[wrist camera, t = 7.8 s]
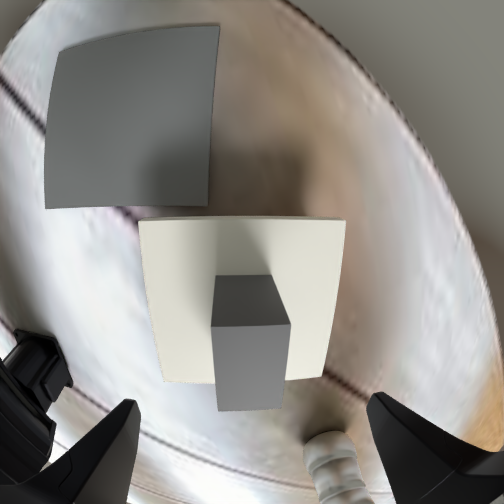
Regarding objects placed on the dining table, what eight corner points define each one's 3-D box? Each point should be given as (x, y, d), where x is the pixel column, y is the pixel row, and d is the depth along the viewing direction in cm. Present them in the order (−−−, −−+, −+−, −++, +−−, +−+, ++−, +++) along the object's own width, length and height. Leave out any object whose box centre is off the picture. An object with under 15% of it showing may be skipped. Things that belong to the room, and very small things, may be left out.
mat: (49, 207, 17) (45, 209, 16) (62, 54, 13) (59, 52, 12) (207, 205, 18) (207, 206, 17) (219, 29, 14) (219, 26, 14)
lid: (166, 372, 17) (151, 437, 12) (143, 217, 14) (96, 250, 8) (317, 367, 18) (343, 428, 13) (339, 217, 15) (396, 247, 9)
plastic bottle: (307, 456, 29) (340, 574, 10) (291, 437, 26) (326, 580, 7) (352, 438, 28) (398, 554, 9) (342, 417, 26) (399, 556, 7)
